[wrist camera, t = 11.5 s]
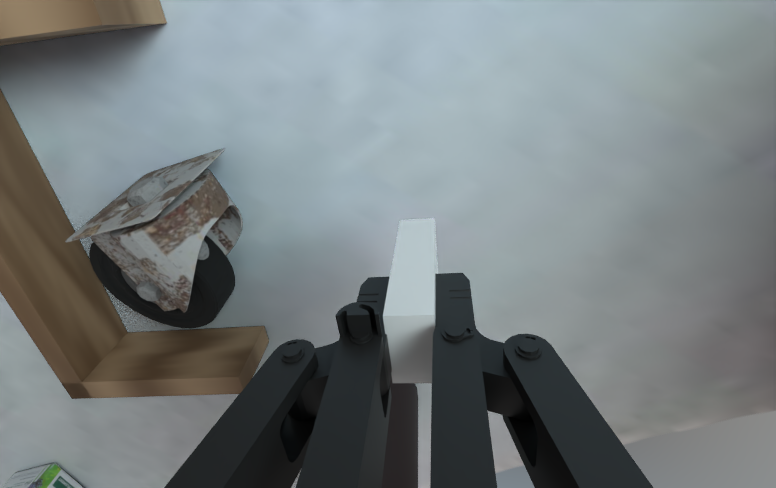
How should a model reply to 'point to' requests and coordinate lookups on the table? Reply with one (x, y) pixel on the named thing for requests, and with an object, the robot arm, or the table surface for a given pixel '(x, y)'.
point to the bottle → (402, 438)
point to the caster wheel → (168, 244)
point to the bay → (72, 266)
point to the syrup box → (42, 478)
